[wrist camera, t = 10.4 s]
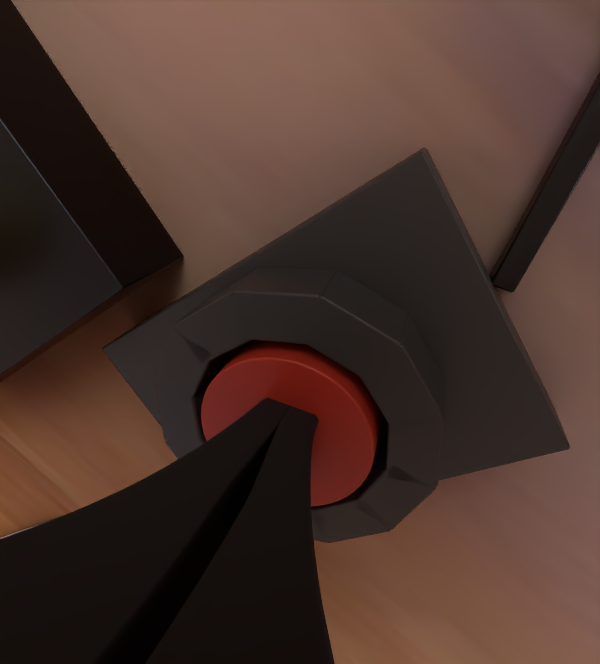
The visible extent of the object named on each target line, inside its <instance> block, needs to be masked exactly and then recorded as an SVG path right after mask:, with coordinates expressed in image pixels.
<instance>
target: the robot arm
mask: <svg viewBox="0 0 600 664" xmlns="http://www.w3.org/2000/svg"><path fill="white" fill-rule="evenodd" d="M318 422H319V420H318V418H317V416H316V415H315V414H312V413H309V412H307V411H304V410H301V409H298V408H295V407H293V406H290V405H287V404H284V403H282V402H279V401H276V400H273V399H270V398H268V397H267V398H265V399H262V400H261V401H260V402H259V403H258V404H256V405H255V406H254V407H253V408H252V409H250V410H249V411H248V412H247V413H245V414H244V415H243V416H241V417H240V418H239V419H238V420H236V421H235V422H234V423H232V424H231V425H230V426H228V427H227V428H225V429H224V430H222V431H221V432H220V433H218V434H217V435H215V436H214V437H212V438H211V439H209V440H208V441H207V442H205V443H204V444H202V445H201V446H199V447H198V448H196V449H194V450H193V451H191V452H189V453H188V454H186V455H184V456H183V457H181V458H180V459H178V460H176V461H175V462H173V463H171V464H170V465H168V466H166V467H165V468H163V469H161V470H159V471H157V472H156V473H154V474H152V475H150V476H148V477H146V478H144V479H143V480H141V481H139V482H137V483H135V484H133V485H131V486H129V487H127V488H125V489H123V490H121V491H119V492H116V493H114V494H112V495H110V496H108V497H105V498H103V499H101V500H99V501H97V502H94V503H92V504H90V505H88V506H85V507H83V508H81V509H78V510H76V511H74V512H71V513H69V514H66V515H64V516H61V517H59V518H56V519H53V520H50V521H47V522H44V523H41V524H38V525H36V526H33V527H30V528H27V529H24V530H21V531H18V532H15V533H12V534H9V535H6V536H4V537H1V538H0V664H334V659H333V654H332V649H331V644H330V639H329V634H328V630H327V625H326V620H325V615H324V610H323V605H322V599H321V593H320V586H319V580H318V574H317V566H316V558H315V550H314V540H313V529H312V514H311V457H312V447H313V440H314V435H315V432H316V428H317V425H318Z"/></svg>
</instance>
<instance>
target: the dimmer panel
mask: <svg viewBox="0 0 600 664" xmlns="http://www.w3.org/2000/svg"><path fill="white" fill-rule="evenodd" d="M182 258H183V255H182V253H181V252H180V250H179V249H178V247H177V246H176V244H175V243H174V241H173V240H172V238H171V237H170V235H169V234H168V232H167V231H166V229H165V228H164V227H163V225H162V224H161V222H160V221H159V219H158V218H157V216H156V215H155V213H154V212H153V210H152V209H151V207H150V206H149V204H148V203H147V201H146V200H145V198H144V197H143V195H142V194H141V192H140V191H139V189H138V188H137V187H136V185H135V184H134V182H133V181H132V179H131V178H130V176H129V175H128V173H127V172H126V170H125V169H124V167H123V166H122V164H121V163H120V161H119V160H118V158H117V157H116V155H115V154H114V152H113V151H112V150H111V148H110V147H109V145H108V144H107V142H106V141H105V139H104V138H103V136H102V135H101V133H100V132H99V130H98V129H97V127H96V126H95V124H94V123H93V121H92V120H91V118H90V117H89V115H88V114H87V112H86V111H85V110H84V108H83V107H82V105H81V104H80V102H79V101H78V99H77V98H76V96H75V95H74V93H73V92H72V90H71V89H70V87H69V86H68V84H67V83H66V81H65V80H64V78H63V77H62V75H61V74H60V72H59V71H58V70H57V68H56V67H55V65H54V64H53V62H52V61H51V59H50V58H49V56H48V55H47V53H46V52H45V50H44V49H43V47H42V46H41V44H40V43H39V41H38V40H37V38H36V37H35V35H34V34H33V32H32V31H31V30H30V28H29V27H28V25H27V24H26V22H25V21H24V19H23V18H22V16H21V15H20V13H19V12H18V10H17V9H16V7H15V6H14V4H13V3H12V1H11V0H0V382H1V381H2V380H3V379H5V378H6V377H8V376H9V375H11V374H12V373H14V372H15V371H17V370H18V369H20V368H21V367H23V366H24V365H26V364H27V363H29V362H30V361H32V360H33V359H34V358H36V357H37V356H39V355H40V354H42V353H43V352H45V351H46V350H48V349H49V348H51V347H52V346H54V345H55V344H57V343H58V342H60V341H61V340H62V339H64V338H65V337H67V336H68V335H70V334H71V333H73V332H74V331H76V330H77V329H79V328H80V327H82V326H83V325H85V324H86V323H88V322H89V321H91V320H92V319H93V318H95V317H96V316H98V315H99V314H101V313H102V312H104V311H105V310H107V309H108V308H110V307H111V306H113V305H114V304H116V303H117V302H119V301H120V300H122V299H123V298H124V297H126V296H127V295H129V294H130V293H132V292H133V291H135V290H136V289H138V288H139V287H141V286H142V285H144V284H145V283H147V282H148V281H150V280H151V279H152V278H154V277H155V276H157V275H158V274H160V273H161V272H163V271H164V270H166V269H167V268H169V267H170V266H172V265H173V264H175V263H176V262H178V261H179V260H181V259H182Z"/></svg>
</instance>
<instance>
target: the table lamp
mask: <svg viewBox="0 0 600 664" xmlns="http://www.w3.org/2000/svg"><path fill="white" fill-rule="evenodd" d="M599 145H600V73H599V75H598V77H597V79H596V80H595V82H594V84H593V86H592V88H591V90H590V92H589V93H588V95H587V97H586V99H585V101H584V103H583V104H582V106H581V108H580V110H579V112H578V114H577V116H576V117H575V119H574V121H573V123H572V125H571V127H570V129H569V130H568V132H567V134H566V136H565V138H564V140H563V141H562V143H561V145H560V147H559V149H558V151H557V153H556V154H555V156H554V158H553V160H552V162H551V164H550V165H549V167H548V169H547V171H546V173H545V175H544V177H543V178H542V180H541V182H540V184H539V186H538V188H537V190H536V191H535V193H534V195H533V197H532V199H531V201H530V202H529V204H528V206H527V208H526V210H525V212H524V214H523V215H522V217H521V219H520V221H519V223H518V225H517V227H516V228H515V230H514V232H513V234H512V236H511V238H510V239H509V241H508V243H507V245H506V247H505V249H504V251H503V252H502V254H501V256H500V258H499V260H498V262H497V263H496V265H495V267H494V269H493V271H492V273H491V275H490V279H491V282H492V284H493V286H495V287H498V288H501V289H503V290H506V291H509V292H514V291H515V289H516V287H517V285H518V284H519V282H520V280H521V279H522V277H523V275H524V273H525V272H526V270H527V268H528V267H529V265H530V263H531V261H532V260H533V258H534V256H535V255H536V253H537V251H538V249H539V248H540V246H541V244H542V243H543V241H544V239H545V237H546V236H547V234H548V232H549V231H550V229H551V227H552V225H553V224H554V222H555V220H556V219H557V217H558V215H559V213H560V212H561V210H562V208H563V207H564V205H565V203H566V201H567V200H568V198H569V196H570V195H571V193H572V191H573V189H574V188H575V186H576V184H577V183H578V181H579V179H580V177H581V176H582V174H583V172H584V171H585V169H586V167H587V165H588V164H589V162H590V160H591V159H592V157H593V155H594V153H595V152H596V150H597V148H598V147H599Z"/></svg>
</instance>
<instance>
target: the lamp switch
mask: <svg viewBox="0 0 600 664" xmlns="http://www.w3.org/2000/svg"><path fill="white" fill-rule="evenodd" d="M267 397H268V398H270V399H273V400H276V401H279V402H282V403H284V404H287V405H290V406H293V407H295V408H298V409H301V410H304V411H307V412H309V413H312V414H315V415H316V416H317V418H318V420H319V422H318V425H317V428H316V432H315V435H314V440H313V447H312V457H311V506H320V505H326V504H330V503H333V502H336V501H339V500H341V499H343V498H345V497H347V496H349V495H350V494H351V493H353V492H354V491H355V490H356V489H357V488H359V487H360V486H361V485H362V483H363V482H364V481H365V479H366V478H367V476H368V474H369V472H370V470H371V468H372V464H373V461H374V456H375V451H376V446H377V441H378V436H379V431H380V426H381V421H382V412H381V411H380V409H379V407H378V406H377V404H376V402H375V401H374V399H373V398H372V396H371V394H370V393H369V391H368V389H367V388H366V386H365V384H364V383H363V381H362V380H361V378H360V376H358V375H356V374H355V373H353V372H351V371H350V370H348V369H346V368H345V367H343V366H342V365H340V364H338V363H337V362H335V361H333V360H332V359H330V358H328V357H327V356H325V355H323V354H322V353H320V352H319V351H317V350H315V349H314V348H312V347H310V346H309V345H306V344H295V343H284V342H272V341H261V340H251V341H249V342H247V343H245V344H244V345H243V346H242V347H241V348H240V350H239V351H238V352H237V353H236V354H235V355H234V356H233V357H232V359H231V360H230V361H229V362H228V363H227V364H226V365H225V366H224V367H223V369H222V370H221V371H220V372H219V373H218V374H217V375H216V377H215V378H214V379H213V380H212V381H211V383H210V384H209V386H208V388H207V389H206V392H205V395H204V397H203V402H202V407H201V420H202V427H203V431H204V435H205V438H206V440H207V441H208V440H209V439H211V438H212V437H214V436H215V435H217V434H218V433H220V432H221V431H222V430H224V429H225V428H227V427H228V426H230V425H231V424H232V423H234V422H235V421H236V420H238V419H239V418H240V417H241V416H243V415H244V414H245V413H247V412H248V411H249V410H250V409H252V408H253V407H254V406H255V405H256V404H258V403H259V402H260V401H261V400H262V399H265V398H267Z"/></svg>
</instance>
